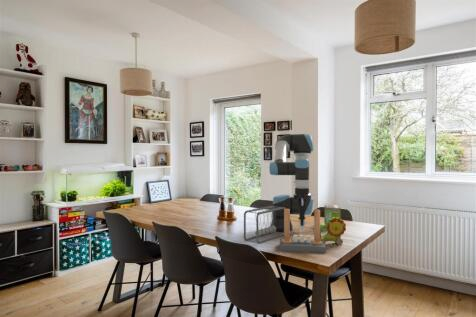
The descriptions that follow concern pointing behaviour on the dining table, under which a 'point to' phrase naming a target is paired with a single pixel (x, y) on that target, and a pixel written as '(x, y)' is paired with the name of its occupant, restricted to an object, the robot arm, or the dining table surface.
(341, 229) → the toy lion
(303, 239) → the breaker paddles
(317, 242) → the post
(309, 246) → the breaker board
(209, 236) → the dining table surface
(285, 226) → the post
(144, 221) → the dining table surface
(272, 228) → the newton's cradle
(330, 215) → the tea box
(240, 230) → the dining table surface
